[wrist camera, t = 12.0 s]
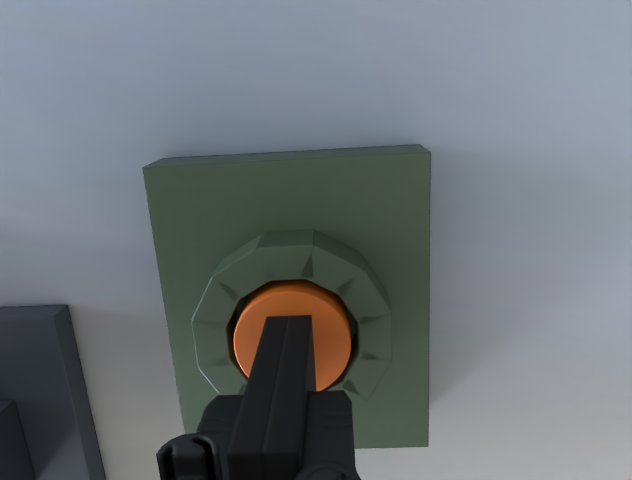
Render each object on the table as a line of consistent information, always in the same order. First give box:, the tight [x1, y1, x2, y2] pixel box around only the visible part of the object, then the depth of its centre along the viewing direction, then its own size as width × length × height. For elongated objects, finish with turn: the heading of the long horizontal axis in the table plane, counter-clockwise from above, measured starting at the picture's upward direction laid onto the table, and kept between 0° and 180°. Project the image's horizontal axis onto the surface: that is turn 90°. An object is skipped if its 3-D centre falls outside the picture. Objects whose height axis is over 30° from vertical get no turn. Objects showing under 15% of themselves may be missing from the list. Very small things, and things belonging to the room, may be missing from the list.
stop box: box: [142, 144, 431, 449], centre depth 20 cm, size 12×10×4 cm
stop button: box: [233, 279, 351, 391], centre depth 18 cm, size 4×4×2 cm
